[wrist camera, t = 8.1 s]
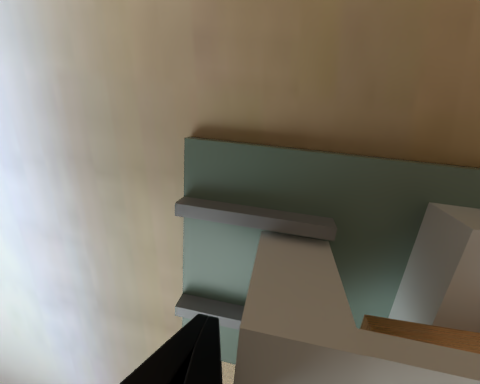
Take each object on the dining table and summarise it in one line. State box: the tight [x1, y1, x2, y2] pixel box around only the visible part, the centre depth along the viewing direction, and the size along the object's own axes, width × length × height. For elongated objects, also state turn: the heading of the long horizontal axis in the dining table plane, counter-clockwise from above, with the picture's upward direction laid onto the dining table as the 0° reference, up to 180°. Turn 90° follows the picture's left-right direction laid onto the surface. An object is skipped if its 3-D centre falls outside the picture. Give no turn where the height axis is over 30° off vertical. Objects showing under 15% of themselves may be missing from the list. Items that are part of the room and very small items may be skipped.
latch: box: [234, 231, 480, 384], centre depth 9 cm, size 4×6×6 cm
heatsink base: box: [175, 137, 480, 364], centre depth 9 cm, size 13×25×5 cm, turn 86°
